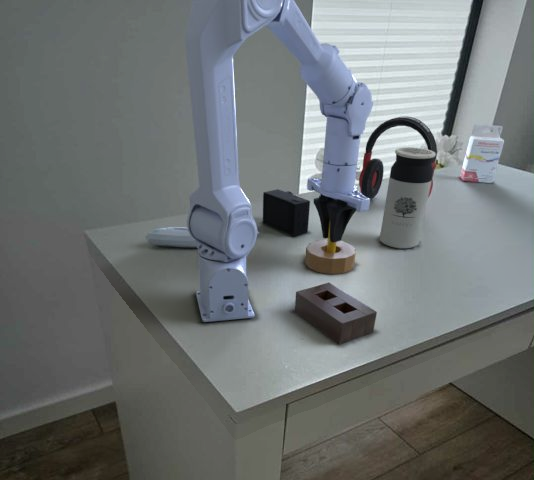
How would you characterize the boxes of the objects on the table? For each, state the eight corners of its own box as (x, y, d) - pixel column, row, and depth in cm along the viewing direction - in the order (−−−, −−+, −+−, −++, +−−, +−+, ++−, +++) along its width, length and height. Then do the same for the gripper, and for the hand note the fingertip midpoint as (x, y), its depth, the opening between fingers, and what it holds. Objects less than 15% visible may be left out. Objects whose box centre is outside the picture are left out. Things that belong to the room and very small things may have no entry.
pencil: (335, 265, 92) (340, 212, 87) (327, 265, 92) (332, 213, 87) (332, 261, 94) (337, 209, 88) (324, 262, 93) (329, 210, 88)
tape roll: (360, 272, 90) (362, 256, 88) (313, 275, 88) (315, 260, 87) (343, 252, 97) (345, 238, 96) (299, 255, 96) (300, 241, 94)
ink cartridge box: (463, 181, 144) (476, 127, 136) (459, 177, 148) (472, 124, 140) (493, 183, 143) (508, 128, 135) (489, 178, 147) (503, 125, 139)
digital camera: (312, 231, 107) (314, 199, 103) (293, 237, 104) (295, 204, 100) (280, 218, 113) (282, 187, 109) (262, 223, 110) (263, 191, 106)
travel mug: (386, 232, 107) (401, 145, 97) (422, 240, 104) (442, 150, 94) (373, 243, 102) (388, 152, 92) (411, 252, 98) (430, 158, 88)
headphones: (431, 204, 125) (450, 118, 114) (419, 215, 118) (437, 124, 107) (367, 192, 132) (378, 110, 121) (351, 201, 125) (362, 115, 114)
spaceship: (148, 254, 94) (145, 231, 92) (145, 241, 99) (142, 220, 97) (264, 243, 100) (265, 222, 98) (256, 232, 105) (256, 212, 103)
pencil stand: (339, 344, 70) (342, 323, 68) (294, 311, 77) (295, 291, 75) (373, 332, 73) (377, 311, 71) (326, 301, 80) (328, 282, 78)
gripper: (388, 168, 79) (375, 248, 87) (331, 150, 89) (324, 223, 97) (355, 174, 76) (345, 256, 84) (300, 154, 86) (295, 229, 94)
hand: (332, 239), depth 90 cm, fingers closed on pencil, 2 cm apart
